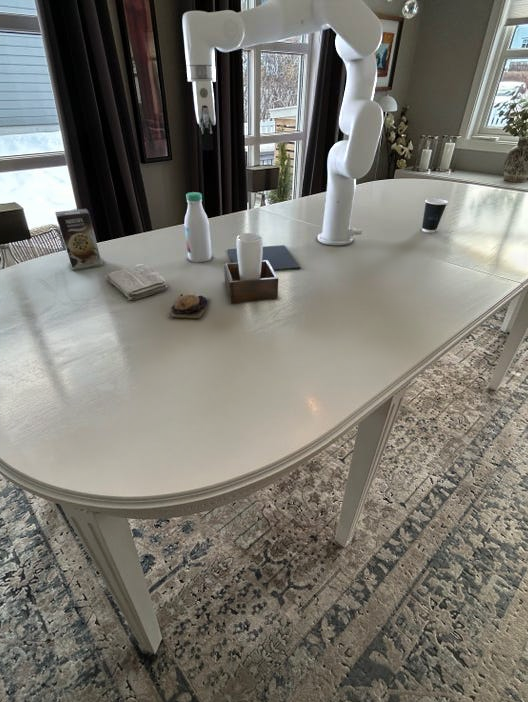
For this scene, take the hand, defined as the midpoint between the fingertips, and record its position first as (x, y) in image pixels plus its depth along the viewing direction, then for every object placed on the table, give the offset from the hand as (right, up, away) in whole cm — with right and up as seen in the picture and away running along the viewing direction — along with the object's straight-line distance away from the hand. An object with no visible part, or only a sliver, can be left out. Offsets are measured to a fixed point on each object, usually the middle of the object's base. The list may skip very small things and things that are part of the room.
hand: (206, 148), depth 109 cm
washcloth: (-19, -42, -3) cm, 46 cm away
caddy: (+13, -44, -7) cm, 46 cm away
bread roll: (-2, -50, -15) cm, 52 cm away
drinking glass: (+13, -44, -6) cm, 46 cm away
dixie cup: (+82, -12, +35) cm, 90 cm away
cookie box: (-40, -32, +9) cm, 52 cm away
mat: (+17, -30, +12) cm, 36 cm away
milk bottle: (-4, -29, +13) cm, 32 cm away
